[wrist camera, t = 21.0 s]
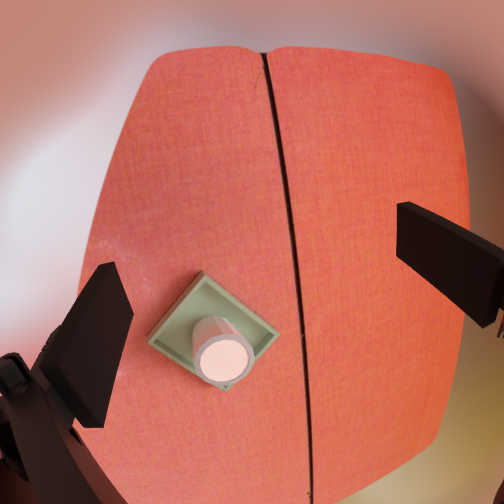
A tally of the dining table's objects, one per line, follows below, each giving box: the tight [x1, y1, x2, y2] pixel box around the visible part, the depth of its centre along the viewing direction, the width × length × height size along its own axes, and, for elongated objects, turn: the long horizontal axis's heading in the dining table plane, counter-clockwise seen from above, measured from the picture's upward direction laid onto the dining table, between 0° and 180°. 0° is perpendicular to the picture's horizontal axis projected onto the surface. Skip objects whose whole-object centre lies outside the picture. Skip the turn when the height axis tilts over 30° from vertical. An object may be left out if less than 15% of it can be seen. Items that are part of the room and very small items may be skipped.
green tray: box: [147, 271, 280, 392], centre depth 39 cm, size 13×11×2 cm
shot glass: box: [192, 315, 255, 386], centre depth 36 cm, size 7×7×7 cm
